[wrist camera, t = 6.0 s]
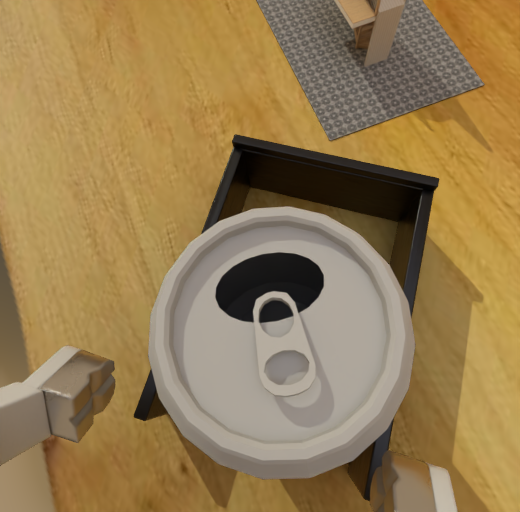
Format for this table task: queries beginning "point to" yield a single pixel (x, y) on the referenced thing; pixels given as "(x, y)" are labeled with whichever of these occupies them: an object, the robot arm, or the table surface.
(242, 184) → the frame
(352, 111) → the architectural model
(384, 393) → the can
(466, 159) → the table surface
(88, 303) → the table surface
